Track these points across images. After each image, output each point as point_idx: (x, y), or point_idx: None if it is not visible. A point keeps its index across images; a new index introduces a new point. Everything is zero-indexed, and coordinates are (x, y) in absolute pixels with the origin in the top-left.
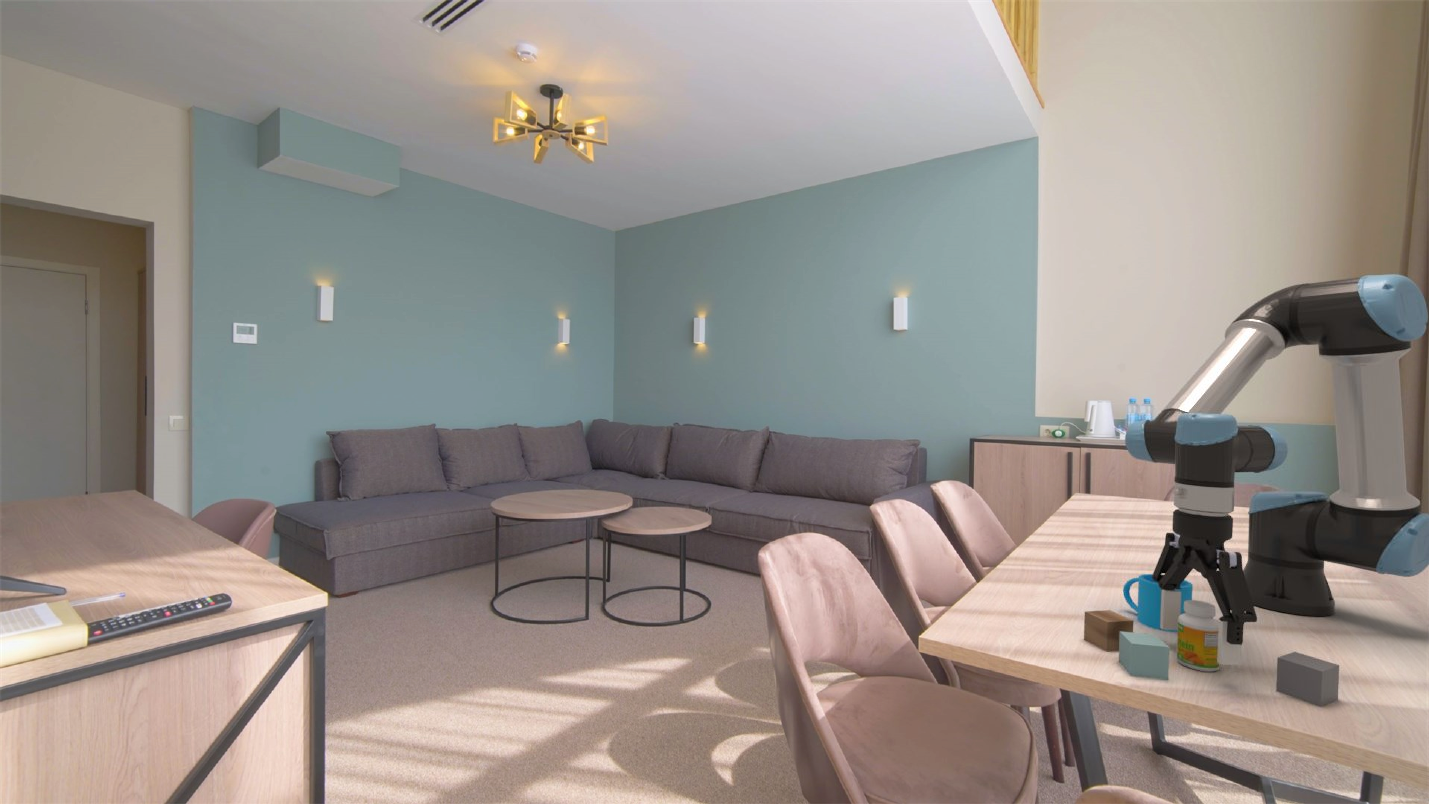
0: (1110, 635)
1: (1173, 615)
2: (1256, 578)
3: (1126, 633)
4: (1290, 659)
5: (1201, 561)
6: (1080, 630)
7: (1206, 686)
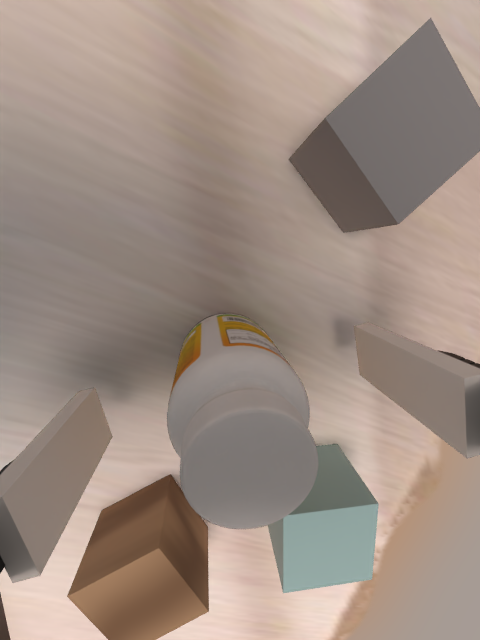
0: (202, 559)
1: (81, 438)
2: None
3: (297, 580)
4: (407, 186)
5: None
6: (71, 562)
7: (354, 380)
